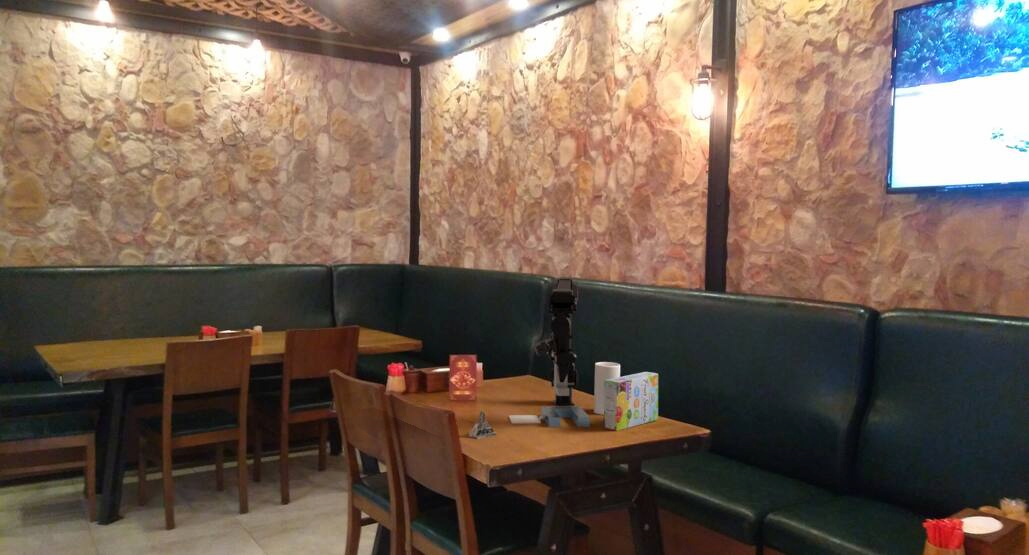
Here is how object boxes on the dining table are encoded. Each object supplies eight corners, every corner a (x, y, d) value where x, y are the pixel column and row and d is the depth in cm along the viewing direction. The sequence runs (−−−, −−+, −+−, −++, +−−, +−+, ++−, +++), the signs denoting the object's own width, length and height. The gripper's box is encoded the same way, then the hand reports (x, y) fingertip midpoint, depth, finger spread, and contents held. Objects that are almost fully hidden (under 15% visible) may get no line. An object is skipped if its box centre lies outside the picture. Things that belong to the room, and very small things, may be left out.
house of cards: (480, 430, 236) (481, 404, 236) (500, 436, 230) (500, 410, 230) (457, 435, 230) (457, 409, 230) (476, 441, 224) (477, 414, 223)
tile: (508, 417, 252) (508, 415, 252) (536, 416, 253) (536, 415, 253) (511, 424, 243) (511, 422, 243) (540, 423, 244) (541, 422, 244)
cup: (618, 415, 256) (619, 366, 255) (592, 414, 258) (593, 365, 257) (619, 410, 264) (621, 362, 263) (595, 408, 266) (596, 361, 265)
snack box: (644, 417, 255) (645, 370, 254) (658, 420, 251) (660, 373, 250) (602, 428, 240) (603, 378, 239) (616, 431, 236) (618, 381, 235)
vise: (535, 415, 254) (535, 406, 254) (579, 415, 256) (579, 406, 256) (542, 427, 240) (542, 417, 239) (589, 427, 241) (589, 417, 241)
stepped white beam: (553, 391, 248) (554, 362, 247) (564, 391, 248) (565, 362, 247) (557, 395, 241) (558, 366, 240) (569, 395, 241) (569, 366, 241)
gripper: (531, 327, 253) (530, 375, 254) (540, 335, 235) (539, 387, 236) (565, 327, 254) (564, 375, 255) (577, 335, 236) (576, 387, 237)
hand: (560, 381), depth 246 cm, fingers closed on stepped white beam, 3 cm apart
